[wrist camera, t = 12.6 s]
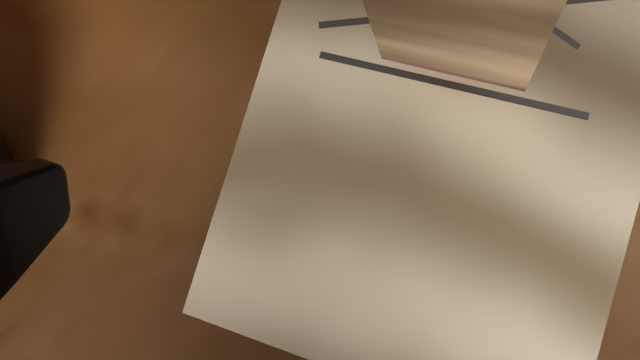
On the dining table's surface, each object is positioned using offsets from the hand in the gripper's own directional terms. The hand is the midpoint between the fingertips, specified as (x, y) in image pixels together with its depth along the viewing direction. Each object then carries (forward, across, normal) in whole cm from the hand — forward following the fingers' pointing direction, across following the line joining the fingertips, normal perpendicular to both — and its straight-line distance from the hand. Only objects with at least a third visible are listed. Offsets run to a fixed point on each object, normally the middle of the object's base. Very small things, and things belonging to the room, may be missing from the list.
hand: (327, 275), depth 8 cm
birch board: (+14, 0, 0) cm, 14 cm away
